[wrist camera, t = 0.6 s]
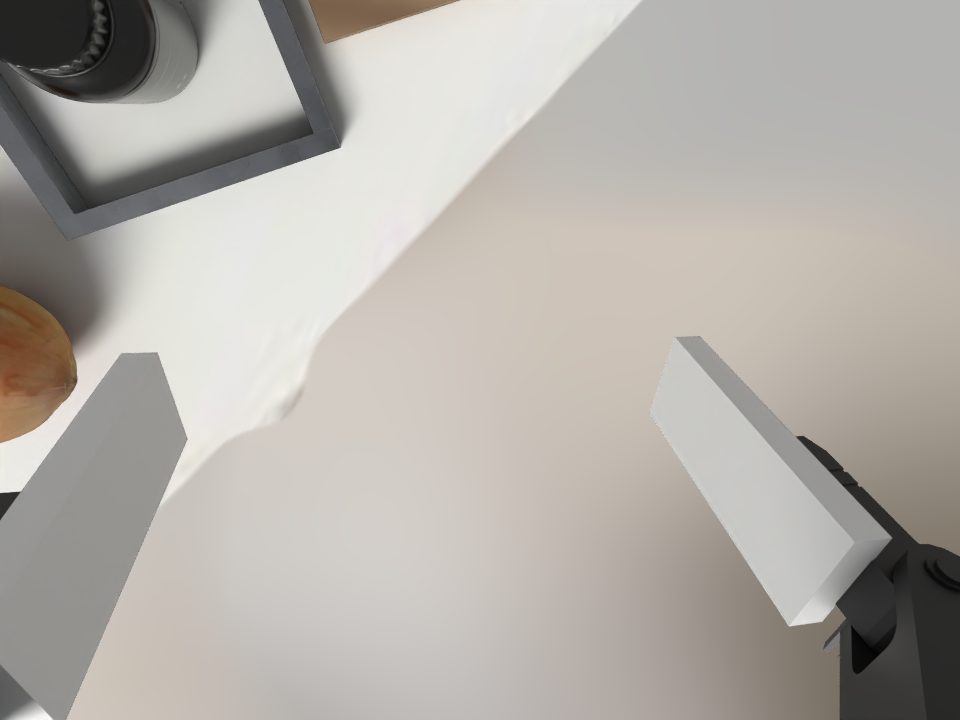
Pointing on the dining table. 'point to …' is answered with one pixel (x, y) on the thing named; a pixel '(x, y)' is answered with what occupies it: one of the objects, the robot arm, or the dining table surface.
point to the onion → (31, 365)
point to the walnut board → (364, 14)
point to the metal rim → (43, 173)
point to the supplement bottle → (100, 48)
